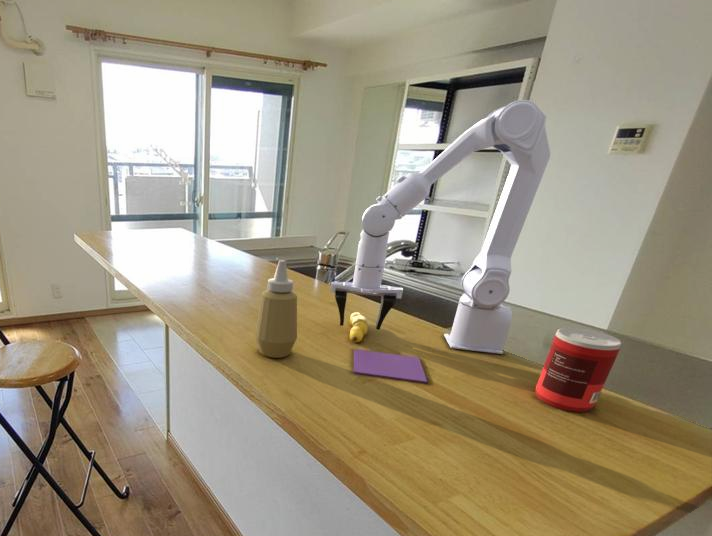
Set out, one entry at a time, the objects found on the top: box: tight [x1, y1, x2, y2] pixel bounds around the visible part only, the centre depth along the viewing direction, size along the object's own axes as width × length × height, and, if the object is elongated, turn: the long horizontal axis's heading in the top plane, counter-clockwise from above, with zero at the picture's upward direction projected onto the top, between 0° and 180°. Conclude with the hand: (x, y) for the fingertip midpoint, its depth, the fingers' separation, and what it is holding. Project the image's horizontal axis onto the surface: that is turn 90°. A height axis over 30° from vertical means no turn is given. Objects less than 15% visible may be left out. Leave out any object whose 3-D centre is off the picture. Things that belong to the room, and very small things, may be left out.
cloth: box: [353, 348, 428, 384], centre depth 79 cm, size 12×11×1 cm
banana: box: [349, 311, 369, 343], centre depth 95 cm, size 4×17×3 cm, turn 163°
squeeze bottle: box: [254, 259, 298, 359], centre depth 80 cm, size 8×8×18 cm
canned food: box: [535, 327, 622, 413], centre depth 66 cm, size 8×8×11 cm
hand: (359, 326), depth 95 cm, fingers open, 7 cm apart
